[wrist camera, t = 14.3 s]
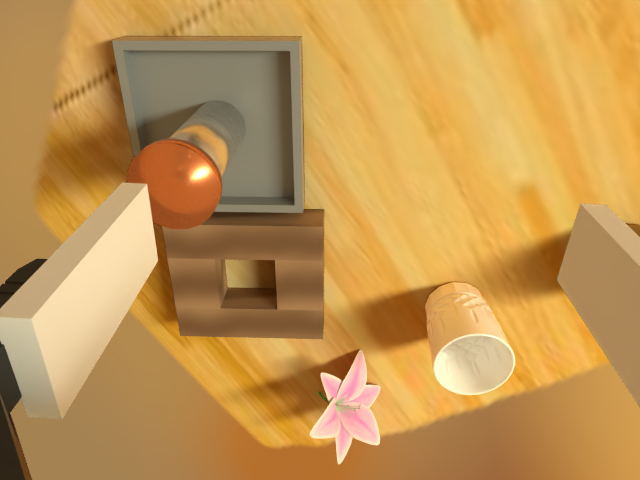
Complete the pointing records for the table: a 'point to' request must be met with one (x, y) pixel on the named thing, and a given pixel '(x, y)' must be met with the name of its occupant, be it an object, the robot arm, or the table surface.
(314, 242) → the socket block
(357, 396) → the lily
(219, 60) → the tray
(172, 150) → the copper-capped cylinder
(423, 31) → the table surface
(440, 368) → the white cup
